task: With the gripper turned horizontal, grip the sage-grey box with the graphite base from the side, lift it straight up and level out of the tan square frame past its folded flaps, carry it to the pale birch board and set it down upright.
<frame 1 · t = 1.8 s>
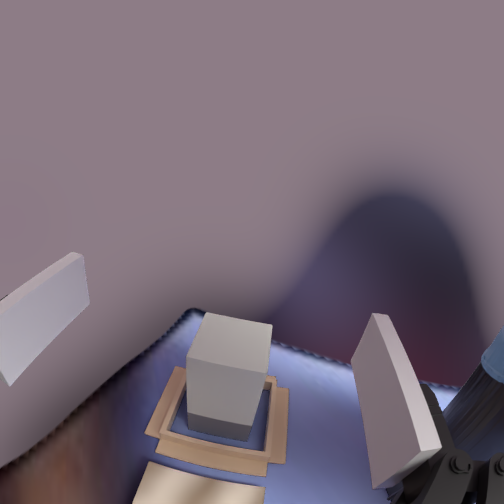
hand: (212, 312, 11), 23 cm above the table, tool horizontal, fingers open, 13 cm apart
tan square frame: (222, 414, 30), on the table
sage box: (222, 414, 30), resting in tan square frame
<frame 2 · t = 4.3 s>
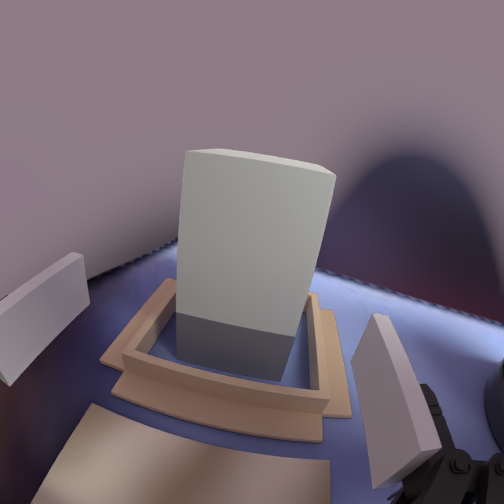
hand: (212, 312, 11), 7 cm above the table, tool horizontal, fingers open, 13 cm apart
tan square frame: (236, 338, 20), on the table
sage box: (236, 339, 20), resting in tan square frame
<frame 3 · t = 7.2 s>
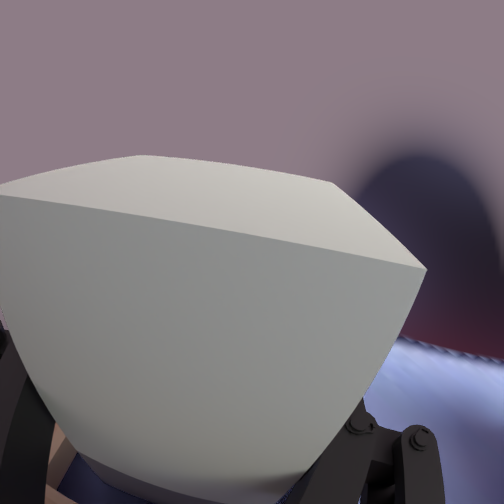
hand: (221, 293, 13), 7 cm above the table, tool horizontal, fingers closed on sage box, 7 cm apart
tan square frame: (191, 453, 11), on the table
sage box: (191, 454, 11), resting in tan square frame, touching gripper
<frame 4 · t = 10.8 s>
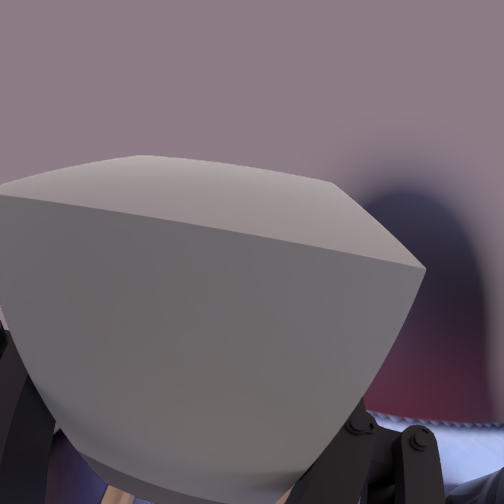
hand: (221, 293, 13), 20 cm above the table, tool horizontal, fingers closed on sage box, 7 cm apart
tan square frame: (200, 493, 17), on the table
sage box: (191, 454, 11), point 13 cm above the table, touching gripper
when the fingers open (10 cm above the table, at t = 14.7 s): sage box drops 1 cm, resting on birch board.
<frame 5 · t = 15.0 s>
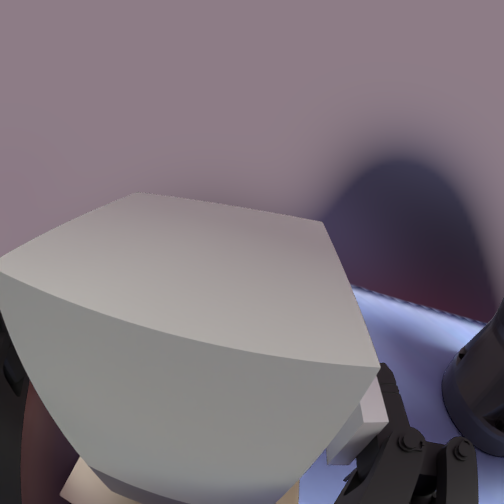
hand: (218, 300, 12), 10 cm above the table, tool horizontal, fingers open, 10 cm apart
birch board: (192, 472, 12), on the table
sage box: (191, 463, 11), point 1 cm above the table, touching birch board
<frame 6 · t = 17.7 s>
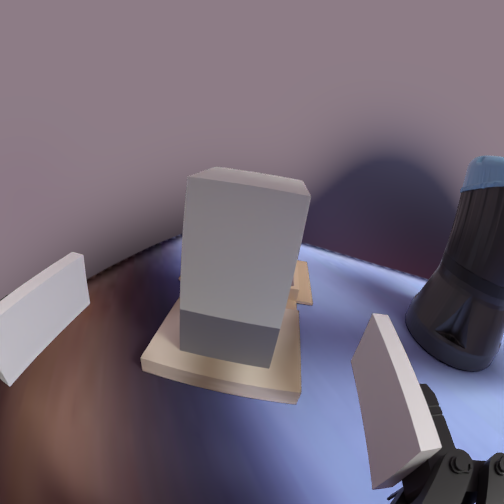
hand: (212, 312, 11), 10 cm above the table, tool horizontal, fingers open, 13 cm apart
birch board: (229, 345, 24), on the table
tan square frame: (250, 271, 38), on the table
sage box: (231, 332, 23), point 1 cm above the table, touching birch board
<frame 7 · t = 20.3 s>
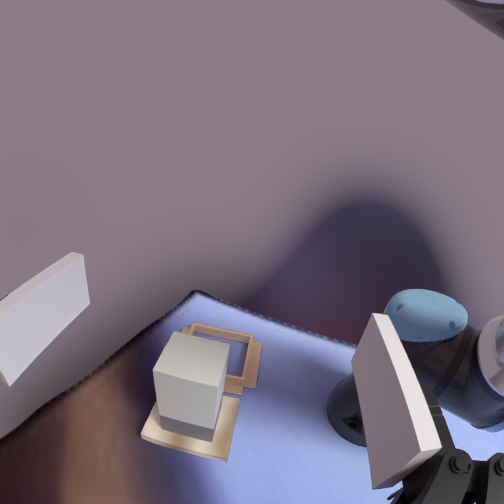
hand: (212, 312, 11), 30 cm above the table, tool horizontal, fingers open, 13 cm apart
birch board: (193, 422, 34), on the table
tan square frame: (215, 356, 48), on the table
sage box: (192, 417, 34), point 1 cm above the table, touching birch board
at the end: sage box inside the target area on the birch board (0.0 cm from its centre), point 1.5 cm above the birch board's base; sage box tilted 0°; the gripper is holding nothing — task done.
